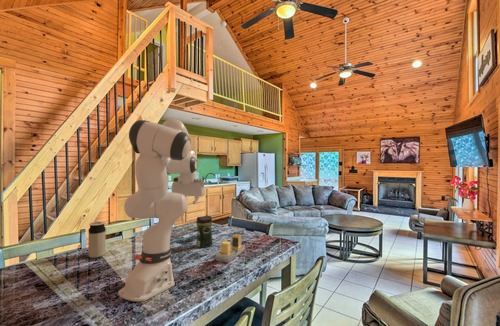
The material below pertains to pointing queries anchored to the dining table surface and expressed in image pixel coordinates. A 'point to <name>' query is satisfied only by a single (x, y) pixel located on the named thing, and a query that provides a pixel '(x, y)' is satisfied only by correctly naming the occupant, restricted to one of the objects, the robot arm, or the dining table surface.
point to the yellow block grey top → (225, 247)
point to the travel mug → (97, 239)
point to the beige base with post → (235, 250)
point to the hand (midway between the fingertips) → (187, 203)
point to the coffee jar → (204, 231)
